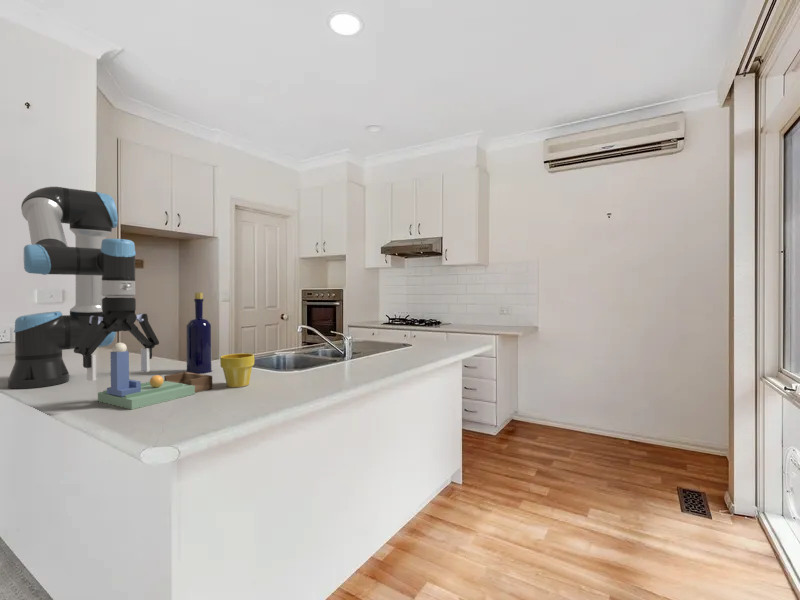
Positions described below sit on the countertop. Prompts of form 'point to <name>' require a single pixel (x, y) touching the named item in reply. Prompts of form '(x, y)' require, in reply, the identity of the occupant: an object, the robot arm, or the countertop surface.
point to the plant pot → (237, 368)
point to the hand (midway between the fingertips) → (119, 375)
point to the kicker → (121, 373)
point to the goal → (191, 380)
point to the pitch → (148, 395)
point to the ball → (156, 381)
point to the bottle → (199, 340)
